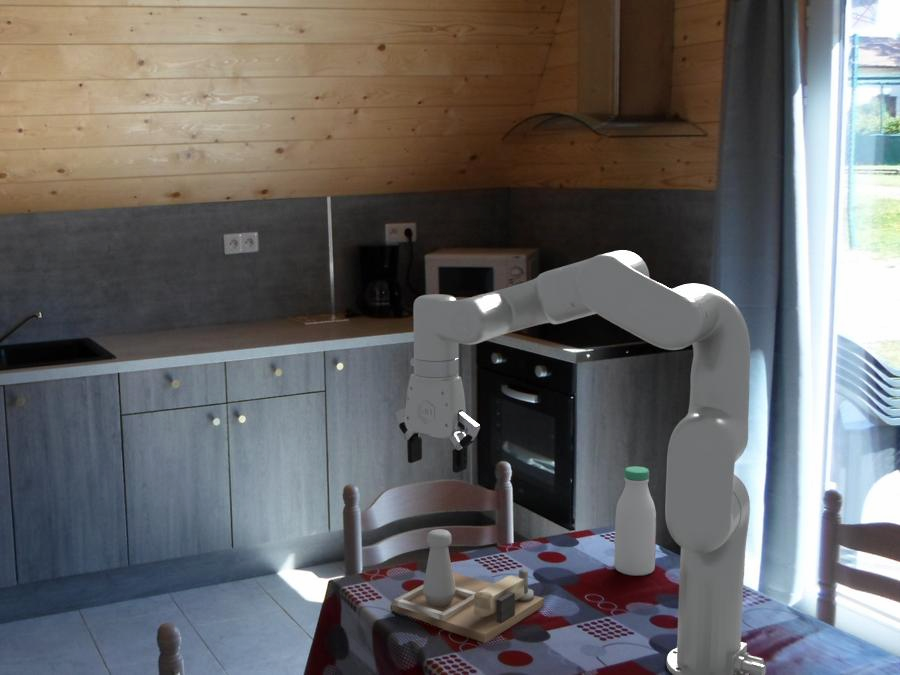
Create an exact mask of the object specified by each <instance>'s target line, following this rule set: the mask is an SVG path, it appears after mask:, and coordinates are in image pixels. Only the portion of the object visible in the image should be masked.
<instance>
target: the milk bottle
mask: <svg viewBox="0 0 900 675" xmlns="http://www.w3.org/2000/svg"><path fill="white" fill-rule="evenodd" d="M649 478H650V470H649V468H646V467H645V466H639V465H638V466H635V465H633V466H628V467H625V469H624V481H625V485H624V488H623V491H622V493H621V495H620V497H619V499H618V502H617V504H616V510H615V520H614V522H615V523H614V524H615V525H614V561H613V562H614V564H613V565H614V568H615V570H616V571H617V572H619V573H622V574H624V575H627V576H638V577H639V576H646V575H649V574H652V573H653V572H654V571H655V567H656V543H657V542H656V540H657V535H656V534H657V512H656V506H655V503H654V500H653V497H652V496H651V492H650V489H649V486H648V483H649V480H650V479H649Z"/></svg>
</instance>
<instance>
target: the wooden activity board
mask: <svg viewBox="0 0 900 675" xmlns="http://www.w3.org/2000/svg"><path fill="white" fill-rule="evenodd" d="M453 576H454V581H455V587H456V590H455V595H454V597H453V600H452V602H451V604H449V605H447V606H445V607H433V606H432V605H430V604H428V603H427V600H426V598H425V596H424V594H423V585H424V583H423V584H421V585H419V586H418V587H416V588H413V589H412V590H410V591H408V592H406V593H404V594H402V595H400V596H398V597H396V598H394V599H393V603H392V604H391V611H392V610H393V611H396V612H399V613H402V614H405V615H408V616H411V617H413V618H416V619H419V620H422V621H424V622H426V623H429V624H431V625H430V626H432V625H434V626H433V627H435V626H437V627H436V628H438V627H439V628H438V629H441V628H442V629H441V630H444V631H447V632H450V633H454V634H457V635H460V636H462V637H466V638H469V639H471V640H476V641H478V642H481V643H484V644H486V643H488V642H489V641H491V640H492V639H494V638H496V637H497V636H499V635H500V634H501V633H503V632H505V631H507V630H508V629H510V628H512V627H513V626H515V625H516V624H518V623H519V622H521V621H522V620H524V619H526V618H527V617H529V616H531V615H533V613H535V612H537V611H539V610H540V609H542V608H543V607H544V606H545V605H544V603H545V598H544V597H541V596H538V595H536V594H535V595H534V590H533V589H531V588H529V570H528V569H524V568H523V569H519V570H518V578H522V579H524V596H522V597H520V598H519V599H517V600H515V593H513V592H508V593H507V594H505V595H503V596H502V597H500V598H498V599H497V611H496V612H494V613H493V614H491V615H489V616H478V615H476V614H475V613H474V595H475V594H476V593H478V592H479V591H481V590H483V589H485V588H487V587H489V586H491V585H493V584H494V583H492V582H488V581H484V580H481V579H478V578H473V577H470V576H468V575H467V576H466V575H464V574H461V573H460V574H459V573H456V572H453ZM426 623H425V624H426ZM429 624H428V625H429Z"/></svg>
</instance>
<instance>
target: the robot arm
mask: <svg viewBox="0 0 900 675" xmlns="http://www.w3.org/2000/svg"><path fill="white" fill-rule="evenodd" d="M412 313H413V357H412V358H411V359H410V361H409V363H410V366H413V373H411V374H410V376H409V380H408V385H407V391H406V401H405V407H403V408H402V409H400V410H397V411H396V412H395V417H396V420H397V423H398V425H399V429H400V431H401V432H402V434H403V437H404V440H406V441H407V443H406V444H407V445H406V446H407V447H406V448H407V463H408V464H413V463H415V462H418V461H421V460H423V439H422V437H421V436H420V435H425V436H429V437H434V438H440V439H449V440H450V441H451V443H452V444H453V446H454V449H452V472H453V473H456V474H458V473H460V472H462V471H464V470H467V467H468V466H467V465H468V448H469V447H471V445H472V443H473V442H475V440H476V439H477V436H478V433H479V431H480V429H481V426H480V424H479V423H478V422H476V421H475V420H474V419H473V418H471V417H470V416H469V415H468V414H466V413H467V411H466V409H467V408H466V399H465V391H464V389H465V388H464V385H463V380H462V376H459V344H462V345H477V344H480V343H483V342H486V341H489V340H491V339H493V338H497V337H500V336H503V335H506V334H510V333H513V332H517V331H520V330H524V329H528V328H531V327H534V326H539V325H543V324H549V323H550V324H552V325H559V324H564V323H567V322H570V321H574V320H578V319H581V318H585V317H588V316H592V315H596V314H597V315H598V316H600V317H602V318H603V319H605V320H607V321H609V322H610V323H612V324H614V325H615V326H618V327H620V328H621V329H623V330H625V331H627V332H629V333H630V334H632V335H634V336H636V337H638V338H639V339H641V340H643V341H645V342H647V343H649V344H651V345H652V346H655V347H658V348H660V349H664V350H669V351H676V350H683V349H685V348H687V347H690V346H692V349H693V350H692V351H693V356H692V357H693V358H692V363H691V369H690V370H691V371H690V389H689V392H690V393H689V405H688V411H687V412H688V413H687V414H686V415H685V416H684V418H682V419H681V420H680V421H679V422H678V423H677V425H676V426H675V428H674V429H673V431H672V433H671V435H670V438H669V442H668V446H667V447H668V448H667V454H666V455H667V456H666V457H667V459H666V478H665V479H666V480H665V481H666V482H665V502H664V503H665V504H664V505H665V509H664V510H665V512H664V513H665V516H664V517H665V523H666V527H667V530H668V532H669V534H670V536H671V538H672V539H673V540H674V542H675V543H676V544H677V545H679V547H680V559H679V560H680V562H679V579H678V580H679V583H678V610H677V611H678V612H677V613H678V614H677V617H678V618H677V642H676V644H677V645H676V648H674V649H672V650H671V651H669V653H668V654H667V656H666V667H667V670H668V671H669V672H670V673H671V675H749V674H750V675H766V673H767V666H766V665H765V664H764V662H765V659H764V658H763V657H760V656H759V657H758V656H753V655H751V654H750V653H749V652H747V651H748V644H747V643H746V642H744V641H742V627H743V625H742V624H743V620H742V619H743V601H744V600H743V599H744V598H743V597H744V580H745V579H744V577H745V565H746V563H745V562H746V549H747V539H748V538H747V537H748V530H749V522H750V514H751V500H750V496H749V491H748V490H747V488H746V486H745V483H743V480H741V479H740V478H739V477H738V476H737V475H736V474H735V465H736V464H735V463H736V462H737V461H738V460H739V459H740V458H741V456H742V455H743V454H744V452H745V450H746V449H747V447H748V446H747V445H748V442H749V441H748V440H749V412H750V375H751V374H750V373H751V341H750V334H749V330H748V329H749V328H748V326H747V323H746V321H745V317H744V316H743V314H742V312H741V310H740V309H739V307H738V306H737V304H735V303H734V301H733V300H732V299H730V298H729V297H728V296H727V295H726V294H724V293H722V292H721V291H720V290H717V289H715V287H712V286H709V285H706V284H701V283H686V284H682V285H679V286H676V287H674V288H669V287H667V286H666V285H664V284H663V283H660V282H657V281H656V280H654V279H652V278H650V271H649V269H648V266H647V264H646V262H645V261H644V260H643V258H642V257H640V255H638V254H636V253H635V252H632V251H630V250H623V249H621V250H614V251H611V252H606V253H603V254H598V255H596V256H595V255H594V256H593V257H590V258H587V259H584V260H581V261H578V262H574V263H571V264H567V265H564V266H561V267H557V268H553V269H550V270H547V271H544V272H542V273H539V275H538V276H537V277H535V278H533V279H531V280H528V281H525V282H522V283H518V284H515V285H512V286H509V287H505V288H502V289H498V290H494V291H490V292H487V293H481V294H477V295H474V296H472V297H467V298H463V299H457V298H456V297H454V296H453V295H450V294H440V293H439V294H438V293H437V294H435V293H434V294H423V295H420V296H418V297H417V298H416V299H414V301H413V312H412ZM466 428H467V434H466V433H465V432H466Z"/></svg>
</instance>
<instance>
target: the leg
mask: <svg viewBox="0 0 900 675" xmlns="http://www.w3.org/2000/svg"><path fill="white" fill-rule="evenodd" d="M492 584H493V585H491V586H489V587H487V588H485V589H483V590H481V591H479V592H478V593H476V594H475V595H474V613H475V614H476V615H478V616H489V615H491V614H493V613H494V612H496V611H497V599H498V598H500V597H502V596H503V595H505V594H507V593H508V592H513V593H515V600H517V599H519V598H520V597H522V596H524V579H522V578H519V576H516V575H515V576H514V575H511V574H510V575H508V576H505V577H504V578H501V579H500V580H498V581H497V582H494V583H492Z"/></svg>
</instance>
